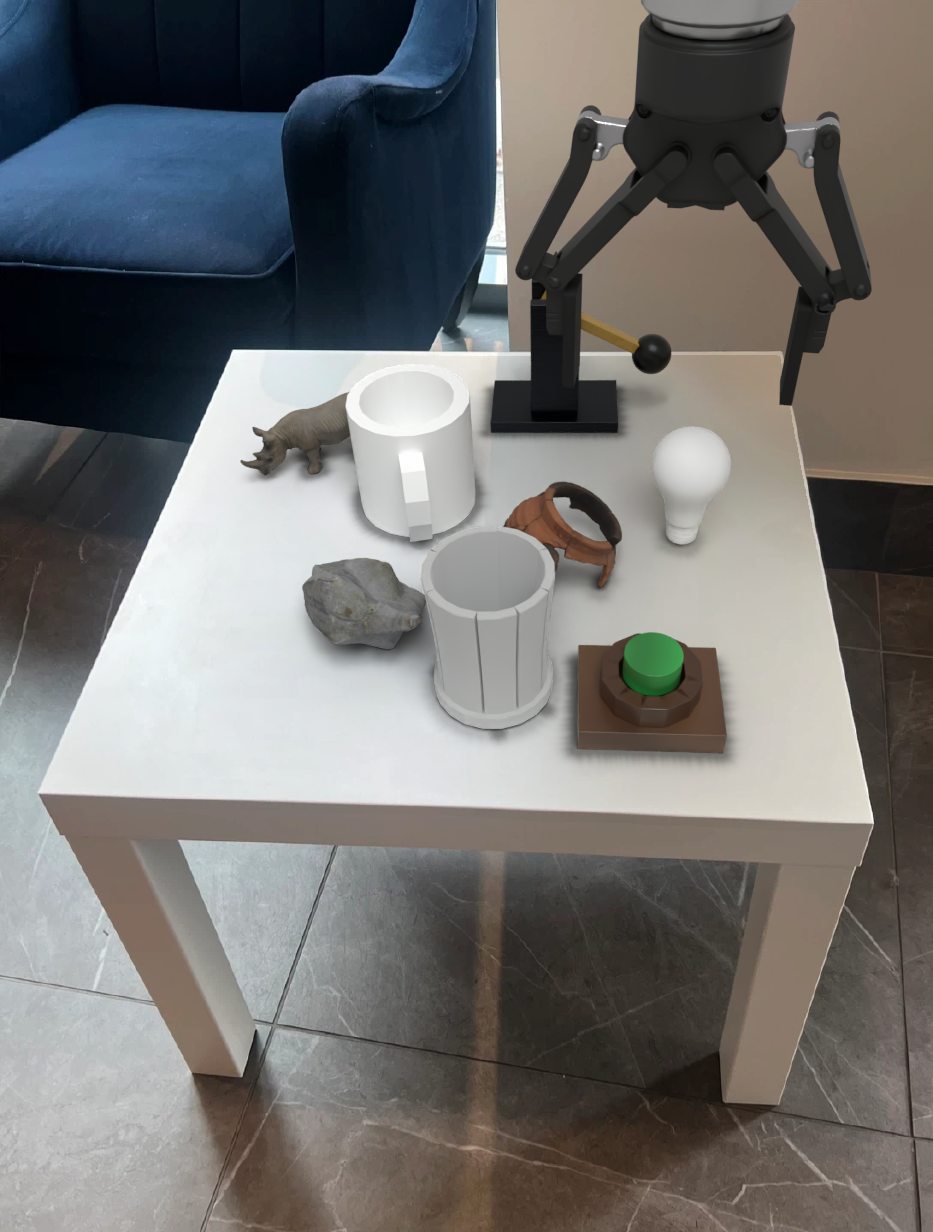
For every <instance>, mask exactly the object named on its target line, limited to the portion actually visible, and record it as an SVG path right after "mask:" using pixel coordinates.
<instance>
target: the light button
mask: <svg viewBox="0 0 933 1232" xmlns="http://www.w3.org/2000/svg"><path fill="white" fill-rule="evenodd" d="M674 639H675V638H673V637H672V636H669V635H667V634H664V633H662V632H656V631H655V632H654V631H651V632H650V631H649V632H642V633H640V634H639V635H637V636H635V637H633V638H632V639H631V640H630V641H629V642H628V643H627V645H626V647H625V650H624V660H623V671H622V673H623V678H624V680H625V682H626V684H627V685H628V686H629V687H630V688H631V689H633V690H634V691H636V692H638V693H640V694H643V695H647V696H660V695H664V694H667V693H669V692H671V691H672V690H674V689H675V688H676V686H677V685H678V683H679V681H680V677H681V671H682V664H683V658H684V655H683V650H682V648H681V646H680V645H679V644H678V643H677V642H676V641H675V640H676V639H675V640H674Z"/></svg>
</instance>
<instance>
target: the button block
mask: <svg viewBox="0 0 933 1232" xmlns="http://www.w3.org/2000/svg"><path fill="white" fill-rule="evenodd" d="M639 634H641V633H640V632H639V633H634V634H631V635H630V636H627V637H624V638H622V639H620V640H617V641H615V642H614V643H612V645H609V644H608V645H605V644H604V645H601V644H578V648H577V649H578V650H577V749H579V750H609V751H614V750H615V751H641V752H642V751H643V752H645V751H646V752H672V753H673V752H677V753H709V754H714V753H715V754H723V753H724V750H725V746H726V742H727V737H728V734H727V727H726V718H725V717H726V716H725V710H724V703H723V693H722V687H721V678H720V670H719V663H718V655H717V648H716V647H700V646H699V647H697V646H688V645H687V644H686V643H684V642H682V641H680V640H678V639H675V638H673V639H674V640H675V641H676V642H677V643H678V644H679V645H680V646H681V648H682V650H683V655H684V658H683V664H682V671H681V677H680V681H679V683H678V685H677V686H676V688H675V689H674V690H672V691H671V692H669V693H667V694H664V695H660V696H647V695H643V694H640V693H638V692H636V691H634V690H633V689H631V688H630V687H629V686H628V685H627V684H626V682H625V680H624V678H623V673H622V671H623V660H624V650H625V647H626V645H627V643H628V642H629V641H630V640H631V639H632V638H633V637H635V636H637V635H639Z"/></svg>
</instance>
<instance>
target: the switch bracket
mask: <svg viewBox="0 0 933 1232" xmlns="http://www.w3.org/2000/svg"><path fill="white" fill-rule="evenodd" d="M545 291H546V290H545V287H544V286H543V285H542V284H541V283H540V282H538V281H536V280H533V279H531V299H530V304H529V310H530V311H529V315H530V316H529V319H530V321H529V322H530V323H529V324H530V325H529V326H530V327H529V329H530V330H529V331H530V332H529V333H530V336H529V337H530V339H529V340H530V380H529V379H523V380H522V379H511V380H509V379H501V380H500V379H498V380H497V379H495V380H494V384H493V392H492V402H491V403H492V404H491V413H490V433H531V434H532V433H534V434H535V433H537V434H539V433H543V434H545V433H549V434H550V433H552V434H553V433H555V434H556V433H557V434H558V433H566V434H568V433H570V434H571V433H573V434H575V433H576V434H577V433H578V434H580V433H583V434H585V433H586V434H587V433H589V434H590V433H591V434H592V433H593V434H597V433H599V434H604V433H605V434H611V433H613V434H615V433H616V434H617V433H619V408H618V407H619V406H618V405H619V404H618V385H617V383H618V382H617V380H616V379H580V369H579V370H578V374H577V377H576V381H575V385H574V388H566V387H562V359H563V336H561V335H549V333H548V330H547V328H546V299H542V300H540V299H541V298H542V296H543V294H544V292H545Z"/></svg>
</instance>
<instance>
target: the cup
mask: <svg viewBox="0 0 933 1232" xmlns="http://www.w3.org/2000/svg"><path fill="white" fill-rule="evenodd" d="M555 580H556V572H555V566H554V561H553V559H552V557H551V555H550V553H549V551H548V550H547V549H546V547H545V546H544V545H543V544H541V543H540V542H539V541H538V540H537V539H536V538H535V537H532V536H530V535H528V534H526V533H524V532H522V531H520V530H517V529H512V528H507V527H503V526H502V525H500V526H498V525H478V526H474V527H470V528H466V529H462V530H458V531H456V532H454V533H452V534H450V535H448V536H446V537H443V539H441V540H440V541H439V542H438V543H436V545H434V546H433V547H432V548H431V549H430V551H428V552H427V554H426V557H425V559H424V560H423V562H422V564H421V572H420V581H421V586H422V591H423V594H424V595H425V599H426V607H427V611H428V616H429V621H430V626H431V630H432V631H431V632H432V635H433V641H434V647H435V654H436V661H435V664H434V672H433V685H434V691H435V694H436V696H437V701H438V702H439V705H440V706H442V708H443V709H444V710H445V711H446V712H447V714H448V715H449V716H451V717H452V718H454V719H455V720H457V721H459V722H461V723H462V724H464V725H467V726H470V727H474V728H478V729H481V730H504V729H507V728H510V727H514V726H518V725H522V724H523V723H525V722H527V721H528V720H530V719H532V718H533V717H535V716H536V715H538V714H539V712H540V711H541V710H542V709H543V708H544V707H545V706H546V704H548V701H549V699H550V697H551V694H552V691H553V689H554V673H553V663H552V660H551V658H550V656H549V654H548V649H549V630H550V621H551V612H552V610H551V609H552V603H553V602H552V601H553V595H554V589H555V588H554V587H555Z"/></svg>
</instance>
